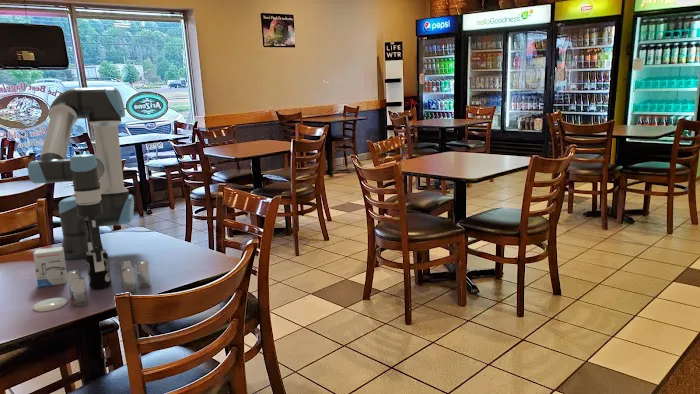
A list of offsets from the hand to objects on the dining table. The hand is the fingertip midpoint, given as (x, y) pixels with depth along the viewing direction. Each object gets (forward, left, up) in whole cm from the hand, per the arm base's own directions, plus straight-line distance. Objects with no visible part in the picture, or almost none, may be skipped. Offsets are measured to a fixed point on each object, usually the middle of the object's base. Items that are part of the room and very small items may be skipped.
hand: (97, 265), depth 170 cm
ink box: (-11, -13, -7) cm, 19 cm away
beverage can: (+2, 0, -7) cm, 7 cm away
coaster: (+10, -15, -7) cm, 19 cm away
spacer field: (+11, +2, -7) cm, 13 cm away
